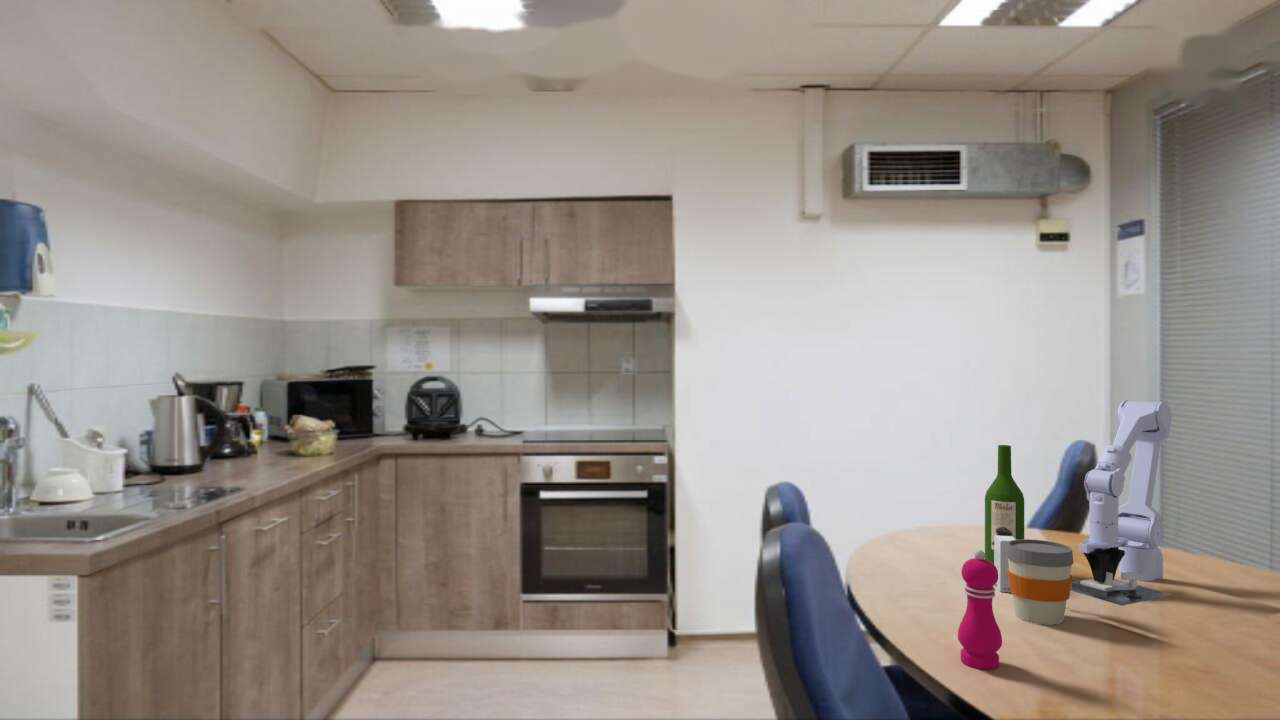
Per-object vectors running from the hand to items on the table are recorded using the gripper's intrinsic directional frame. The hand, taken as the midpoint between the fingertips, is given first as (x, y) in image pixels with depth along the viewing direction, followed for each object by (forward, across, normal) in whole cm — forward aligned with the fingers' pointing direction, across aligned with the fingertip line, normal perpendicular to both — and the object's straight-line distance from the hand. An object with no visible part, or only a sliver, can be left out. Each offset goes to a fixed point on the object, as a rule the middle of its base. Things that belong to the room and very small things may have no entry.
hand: (1103, 580), depth 177 cm
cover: (+2, 0, 0) cm, 2 cm away
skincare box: (+3, +18, -12) cm, 22 cm away
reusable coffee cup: (+3, +29, +6) cm, 30 cm away
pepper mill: (+3, +60, +18) cm, 63 cm away
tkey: (+1, +1, +6) cm, 7 cm away
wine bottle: (+3, +9, -20) cm, 22 cm away
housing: (+3, 0, +2) cm, 3 cm away
